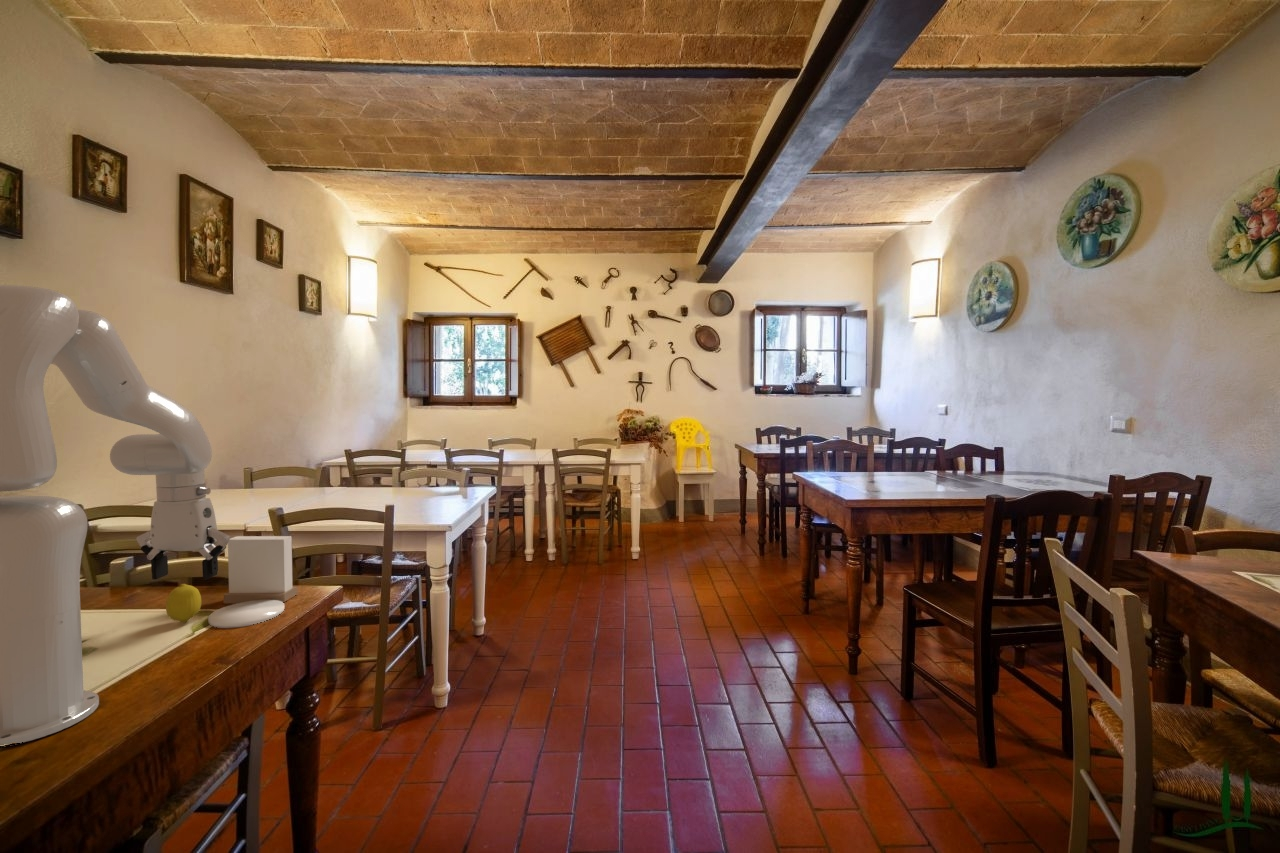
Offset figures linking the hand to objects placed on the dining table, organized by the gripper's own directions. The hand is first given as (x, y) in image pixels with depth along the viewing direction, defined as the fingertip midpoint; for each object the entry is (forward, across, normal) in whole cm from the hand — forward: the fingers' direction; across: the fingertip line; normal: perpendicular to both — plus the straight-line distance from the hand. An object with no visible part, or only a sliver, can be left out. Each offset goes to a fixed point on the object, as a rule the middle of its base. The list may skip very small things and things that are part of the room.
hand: (185, 577), depth 112 cm
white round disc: (+9, -10, -3) cm, 14 cm away
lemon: (+9, 0, +1) cm, 9 cm away
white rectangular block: (+9, -7, -12) cm, 17 cm away
